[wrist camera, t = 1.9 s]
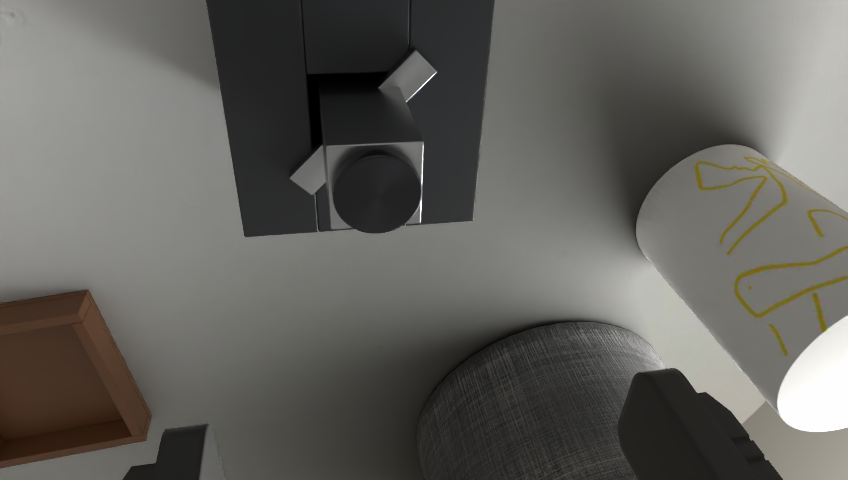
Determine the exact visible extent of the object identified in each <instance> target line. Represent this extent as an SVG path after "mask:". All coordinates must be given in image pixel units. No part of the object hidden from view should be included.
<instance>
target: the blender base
mask: <svg viewBox="0 0 848 480" xmlns="http://www.w3.org/2000/svg"><path fill="white" fill-rule="evenodd" d="M494 2H495V0H206V3H207V9H208V15H209V21H210V27H211V33H212V40H213V46H214V52H215V58H216V64H217V70H218V77H219V83H220V89H221V95H222V101H223V107H224V114H225V120H226V126H227V132H228V138H229V144H230V151H231V157H232V163H233V169H234V175H235V182H236V188H237V194H238V200H239V206H240V212H241V219H242V225H243V231H244V236H245V237H254V236H268V235H282V234H296V233H310V232H318V230H319V231H320V232H324V231H337V230H351V229H354V228H346V229H331V224H330V215H329V206H328V197H327V188H326V182H325V183H324V184H323V185H322V186H321V187H320V188H319V189H318V190H317V191H316V192H315V193H314V194H313V195H311V194H310V193H308V192H307V191H305V190H304V189H303V188H301V187H300V186H299V185H297V184H296V183H295V182H293V181H292V180H291V179H290V178H289V173H290V172H291V171H292V170H293V169H294V168H295V167H296V166H297V165H298V164H299V163H300V162H301V161H302V160H303V159H304V158H305V157H306V156H307V155H308V154H309V153H310V152H311V150H312V149H313V148H314V147H315V146H316V145H317V144H318V143H319V142H320V141H321V132H320V123H319V114H318V105H317V96H316V87H315V74H338V73H375V72H389V71H390V70H391V69H392V68H393V67H394V66H395V65H396V64H397V63H398V62H399V61H400V60H401V59H402V58H403V57H404V56H405V55H406V54H407V53H408V52H409V51H410V50H411V49H412V48H413V47H415V48H416V49H417V50H418V51H419V52H420V53H421V54H422V55H423V56H424V57H425V58H426V59H427V60H428V61H429V62H430V63H431V64H432V65H433V66H434V67H435V69H436V70H437V73H436V74H435V75H434V76H433V77H432V78H431V79H430V80H429V81H428V82H427V83H426V84H425V85H424V86H423V87H422V88H420V89H419V90H418V91H417V92H416V93H415V94H414V95H413V96H412V97H411V98H410V99H409V100H408V101H407V102H406V103H407V105H408V107H409V109H410V112H411V114H412V116H413V119H414V121H415V123H416V125H417V128H418V130H419V132H420V135H421V137H422V139H423V141H424V153H423V179H422V192H423V193H422V205H421V223H415V224H406V225H407V226H408V225H422V224H436V223H450V222H463V221H473V219H474V209H475V198H476V188H477V178H478V167H479V157H480V147H481V136H482V126H483V116H484V105H485V95H486V85H487V74H488V64H489V54H490V43H491V33H492V23H493V12H494ZM404 225H405V224H404ZM404 225H402V226H404Z"/></svg>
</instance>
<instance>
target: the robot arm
mask: <svg viewBox="0 0 848 480" xmlns="http://www.w3.org/2000/svg"><path fill="white" fill-rule="evenodd" d="M618 437H619V442H620V446H621V449H622V451H623V453H624V455H625V457H626V459H627V461H628V463H629V465H630V466H631V468H632V470H633V472H634V474H635V476H636V478H637V479H638V480H783V479H782V478H781V476H780V475H779V474H778V472H777V471H776V470H775V468H774V467H773V466H772V465H771V463H770V462H769V461H768V460H767V461H766V460H765V459H764V454H763V453H762V451H761V450H760V449H759V448H758V446H757V445H756V444H755V442H754V441H753V440H752V441H751V440H750V439H749V435H748V433H747V432H746V431H745V429H744V428H743V427H742V425H741V424H740V423H739V421H738V420H737V419H736V417H735V416H734V415H733V413H732V412H731V411H730V410H728V409H727V408H726V407H724V406H723V405H722V404H721V403H719V402H718V401H717V400H715V399H714V398H713V397H711V396H710V395H709V394H708V393H706V392H703V393H697V392H696V391H695V390H694V388H693V387H692V385H691V384H690V383H689V381H688V380H687V379H686V377H685V376H684V375H683V374H682V373H681V372H680V371H679V370H677V369H675V368H670V369H661V370H653V371H645V372H638V373H636V374H635V375H634V377H633V379H632V382H631V385H630V388H629V391H628V394H627V397H626V400H625V403H624V406H623V409H622V412H621V415H620V418H619V421H618ZM123 480H225V475H224V471H223V467H222V463H221V459H220V455H219V451H218V447H217V443H216V439H215V435H214V431H213V428H212V425H211V424H202V425H194V426H186V427H178V428H170V429H165V430H164V432H163V434H162V437H161V441H160V446H159V451H158V455H157V460H156V463H154V464H146V465H138V466H132V467H131V468H130V470H129V471H128V472H127V474H126V475H125V477H124V478H123Z"/></svg>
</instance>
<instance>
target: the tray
mask: <svg viewBox="0 0 848 480" xmlns="http://www.w3.org/2000/svg"><path fill="white" fill-rule="evenodd" d="M151 417H152V415H151V413H150V411H149V409H148V407H147V405H146V404H145V402H144V400H143V398H142V396H141V394H140V392H139V390H138V388H137V386H136V384H135V382H134V380H133V378H132V376H131V374H130V372H129V370H128V368H127V366H126V364H125V362H124V360H123V358H122V356H121V354H120V352H119V350H118V348H117V346H116V344H115V342H114V340H113V338H112V336H111V334H110V332H109V330H108V328H107V326H106V324H105V322H104V320H103V318H102V316H101V314H100V312H99V310H98V308H97V306H96V304H95V302H94V300H93V298H92V296H91V294H90V292H89V290H84V291H77V292H71V293H65V294H59V295H52V296H46V297H40V298H33V299H27V300H21V301H14V302H8V303H2V304H0V468H5V467H10V466H16V465H21V464H26V463H32V462H37V461H42V460H47V459H53V458H58V457H63V456H69V455H74V454H79V453H84V452H90V451H95V450H100V449H106V448H111V447H116V446H121V445H127V444H132V443H137V442H143V441H146V439H147V434H148V430H149V426H150V421H151Z"/></svg>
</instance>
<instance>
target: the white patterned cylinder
mask: <svg viewBox="0 0 848 480" xmlns="http://www.w3.org/2000/svg"><path fill="white" fill-rule="evenodd" d="M636 237H637V242H638V245H639V247H640V249H641V251H642V252H643V254H644V255H645V256H646V257H647V258H648V260H649V261H650V262H651V263H652V264H653V266H654V267H655V268H656V269H657V270H658V272H659V273H660V274H661V275H662V276H663V278H664V279H665V280H666V281H667V282H668V283H669V285H670V286H671V287H672V288H673V289H674V291H675V292H676V293H677V294H678V295H679V297H680V298H681V299H682V300H683V301H684V302H685V304H686V305H687V306H688V307H689V308H690V310H691V311H692V312H693V313H694V314H695V316H696V317H697V318H698V319H699V320H700V322H701V323H702V324H703V325H704V326H705V327H706V329H707V330H708V331H709V332H710V333H711V335H712V336H713V337H714V338H715V339H716V341H717V342H718V343H719V344H720V345H721V347H722V348H723V349H724V350H725V351H726V352H727V354H728V355H729V356H730V357H731V358H732V360H733V361H734V362H735V363H736V364H737V366H738V367H739V368H740V369H741V370H742V371H743V373H744V374H745V375H746V376H747V377H748V379H749V380H750V381H751V382H752V383H753V385H754V386H755V387H756V388H757V389H758V391H759V392H760V393H761V394H762V395H763V396H764V398H765V399H766V400H767V401H768V402H769V403H770V405H771V406H772V407H773V408H774V409H775V411H776V412H777V413H778V414H779V415H780V417H781V418H782V419H783V420H784V421H785V422H786V423H787V424H788V425H790V426H791V427H794V428H796V429H799V430H803V431H811V432H821V431H831V430H837V429H842V428H845V427H848V213H847V212H845V211H844V210H842V209H841V208H839V207H838V206H837V205H835V204H834V203H832V202H831V201H829V200H828V199H826V198H825V197H823V196H822V195H820V194H819V193H817V192H816V191H815V190H813V189H812V188H810V187H809V186H807V185H806V184H804V183H803V182H801V181H800V180H798V179H797V178H796V177H794V176H793V175H791V174H790V173H788V172H787V171H785V170H784V169H782V168H781V167H779V166H778V165H776V164H775V163H774V162H772V161H771V160H769V159H768V158H766V157H765V156H763V155H762V154H760V153H759V152H757V151H756V150H754V149H752V148H749V147H747V146H743V145H735V144H727V145H719V146H714V147H710V148H707V149H704V150H701V151H699V152H696V153H694V154H692V155H690V156H688V157H687V158H685V159H683V160H682V161H680V162H679V163H677V164H676V165H675V166H673V167H672V168H671V169H670V170H668V171H667V172H666V173H665V174H664V175H663V176H662V177H661V178H660V179H659V180H658V181H657V182H656V184H655V185H654V186H653V187H652V189H651V190H650V192H649V193H648V195H647V196H646V198H645V200H644V202H643V204H642V206H641V209H640V211H639V214H638V218H637V224H636Z"/></svg>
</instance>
